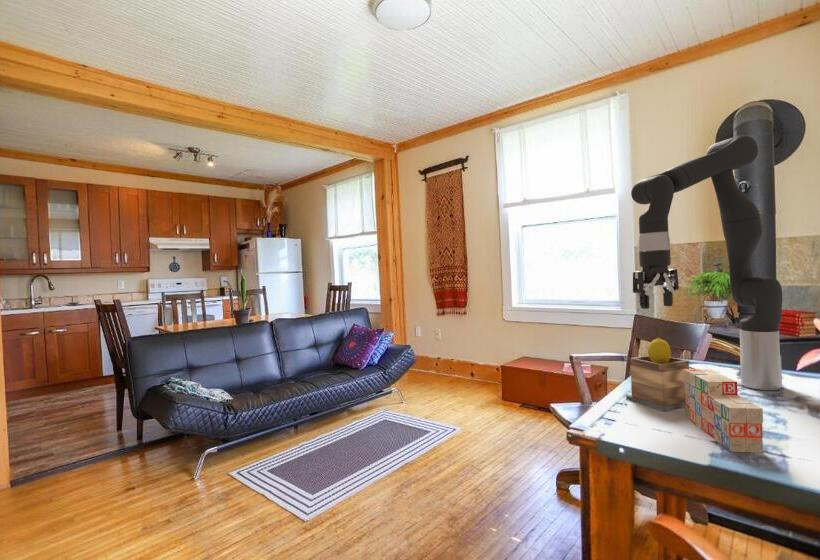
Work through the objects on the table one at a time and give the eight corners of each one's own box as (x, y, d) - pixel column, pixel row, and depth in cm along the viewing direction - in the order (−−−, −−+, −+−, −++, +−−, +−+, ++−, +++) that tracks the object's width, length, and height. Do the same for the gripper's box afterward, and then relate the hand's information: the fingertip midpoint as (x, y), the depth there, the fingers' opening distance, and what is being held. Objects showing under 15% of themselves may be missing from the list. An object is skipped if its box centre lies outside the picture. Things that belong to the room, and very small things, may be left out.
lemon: (674, 368, 114) (673, 339, 114) (652, 368, 115) (651, 339, 115) (666, 364, 120) (665, 336, 120) (645, 364, 121) (644, 336, 121)
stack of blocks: (764, 454, 84) (762, 393, 84) (729, 452, 86) (727, 393, 85) (712, 416, 105) (711, 368, 105) (684, 416, 107) (683, 368, 106)
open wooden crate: (657, 393, 125) (656, 353, 125) (696, 404, 114) (695, 360, 114) (626, 399, 121) (624, 357, 121) (663, 411, 110) (661, 366, 110)
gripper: (661, 249, 123) (663, 304, 123) (623, 251, 118) (626, 308, 118) (685, 247, 115) (688, 306, 116) (646, 249, 111) (649, 310, 111)
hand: (656, 307), depth 117 cm, fingers open, 8 cm apart
